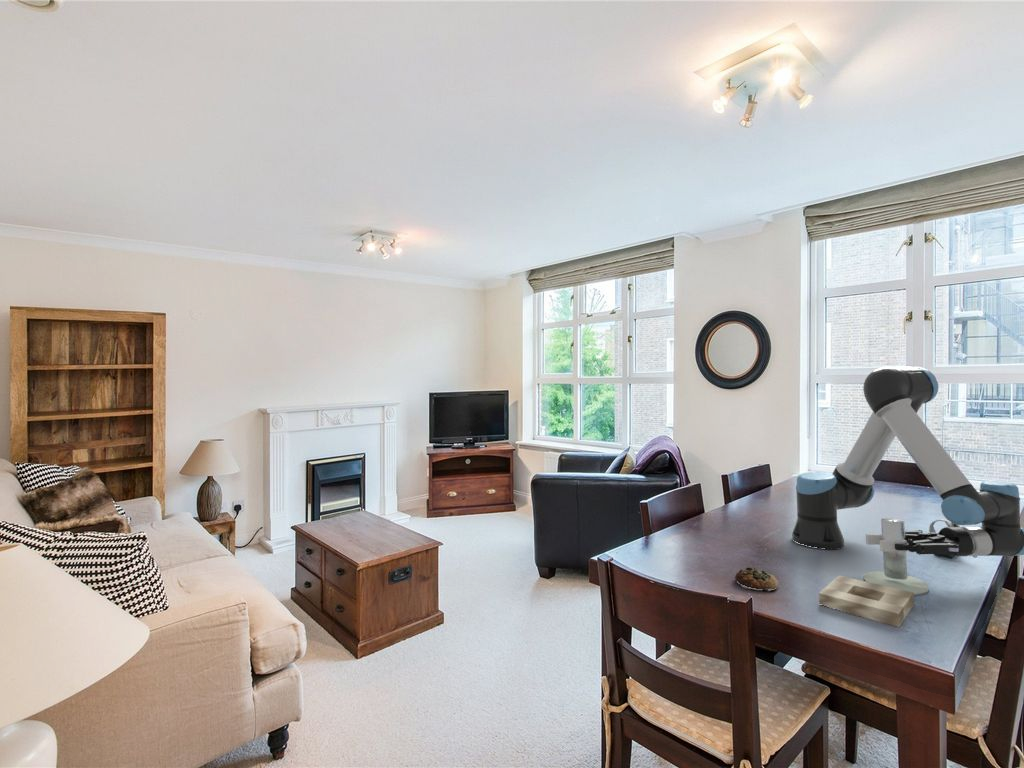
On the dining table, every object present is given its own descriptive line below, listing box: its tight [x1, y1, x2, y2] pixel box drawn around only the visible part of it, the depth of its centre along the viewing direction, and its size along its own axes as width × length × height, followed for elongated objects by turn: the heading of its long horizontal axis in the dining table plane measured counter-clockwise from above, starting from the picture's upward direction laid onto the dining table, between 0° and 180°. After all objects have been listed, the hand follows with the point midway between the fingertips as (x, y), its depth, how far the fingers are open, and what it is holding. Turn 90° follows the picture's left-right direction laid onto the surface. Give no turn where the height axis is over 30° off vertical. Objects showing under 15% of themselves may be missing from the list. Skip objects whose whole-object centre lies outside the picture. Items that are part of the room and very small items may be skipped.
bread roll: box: [734, 566, 779, 590], centre depth 139 cm, size 11×11×5 cm
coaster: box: [863, 570, 930, 596], centre depth 136 cm, size 14×14×1 cm
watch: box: [928, 518, 961, 560], centre depth 157 cm, size 6×8×11 cm
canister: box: [880, 517, 908, 580], centre depth 136 cm, size 5×5×15 cm
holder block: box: [818, 575, 915, 628], centre depth 124 cm, size 16×16×3 cm
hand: (873, 542), depth 137 cm, fingers closed on canister, 5 cm apart
